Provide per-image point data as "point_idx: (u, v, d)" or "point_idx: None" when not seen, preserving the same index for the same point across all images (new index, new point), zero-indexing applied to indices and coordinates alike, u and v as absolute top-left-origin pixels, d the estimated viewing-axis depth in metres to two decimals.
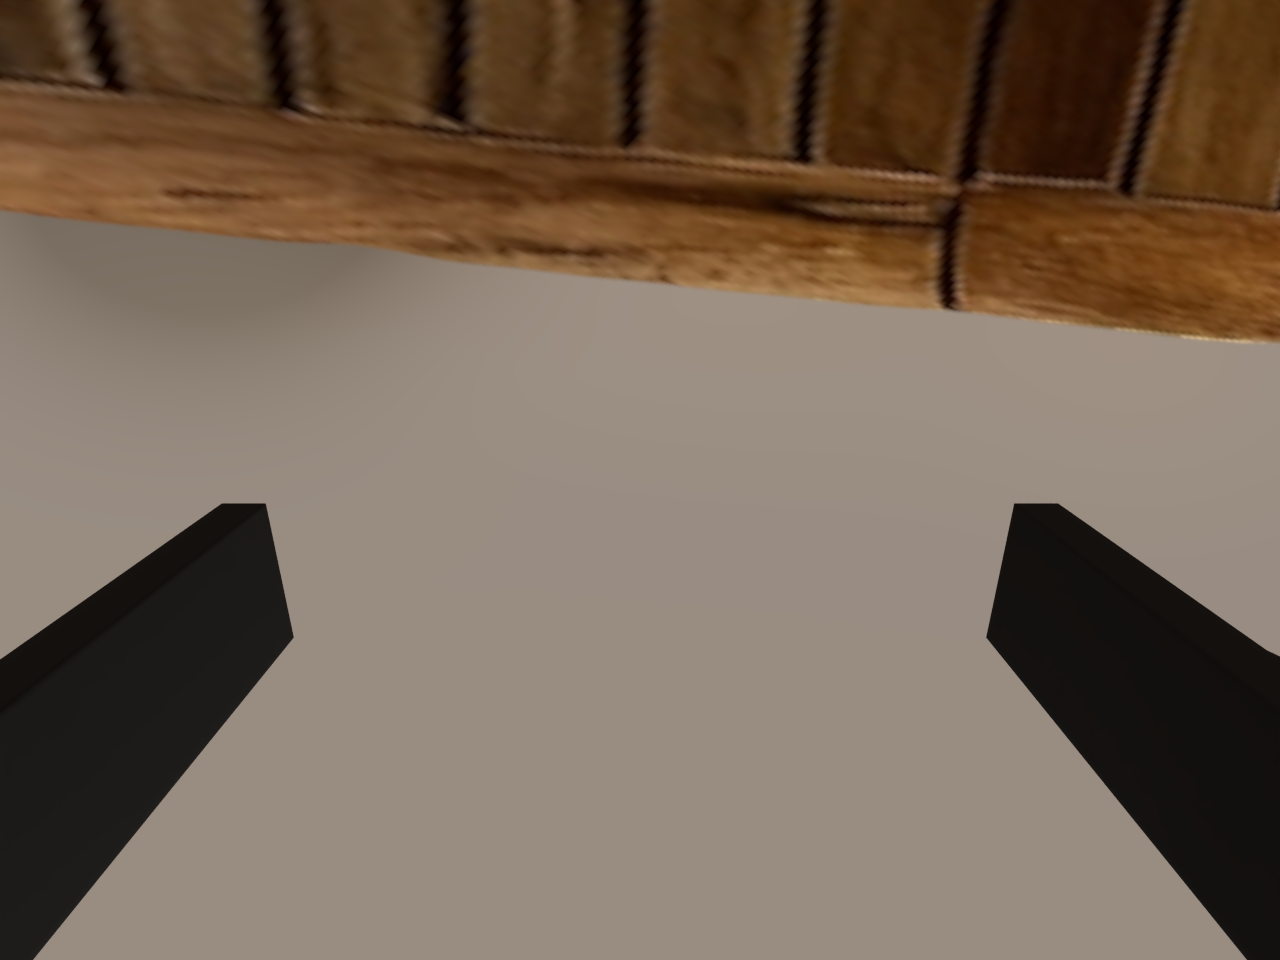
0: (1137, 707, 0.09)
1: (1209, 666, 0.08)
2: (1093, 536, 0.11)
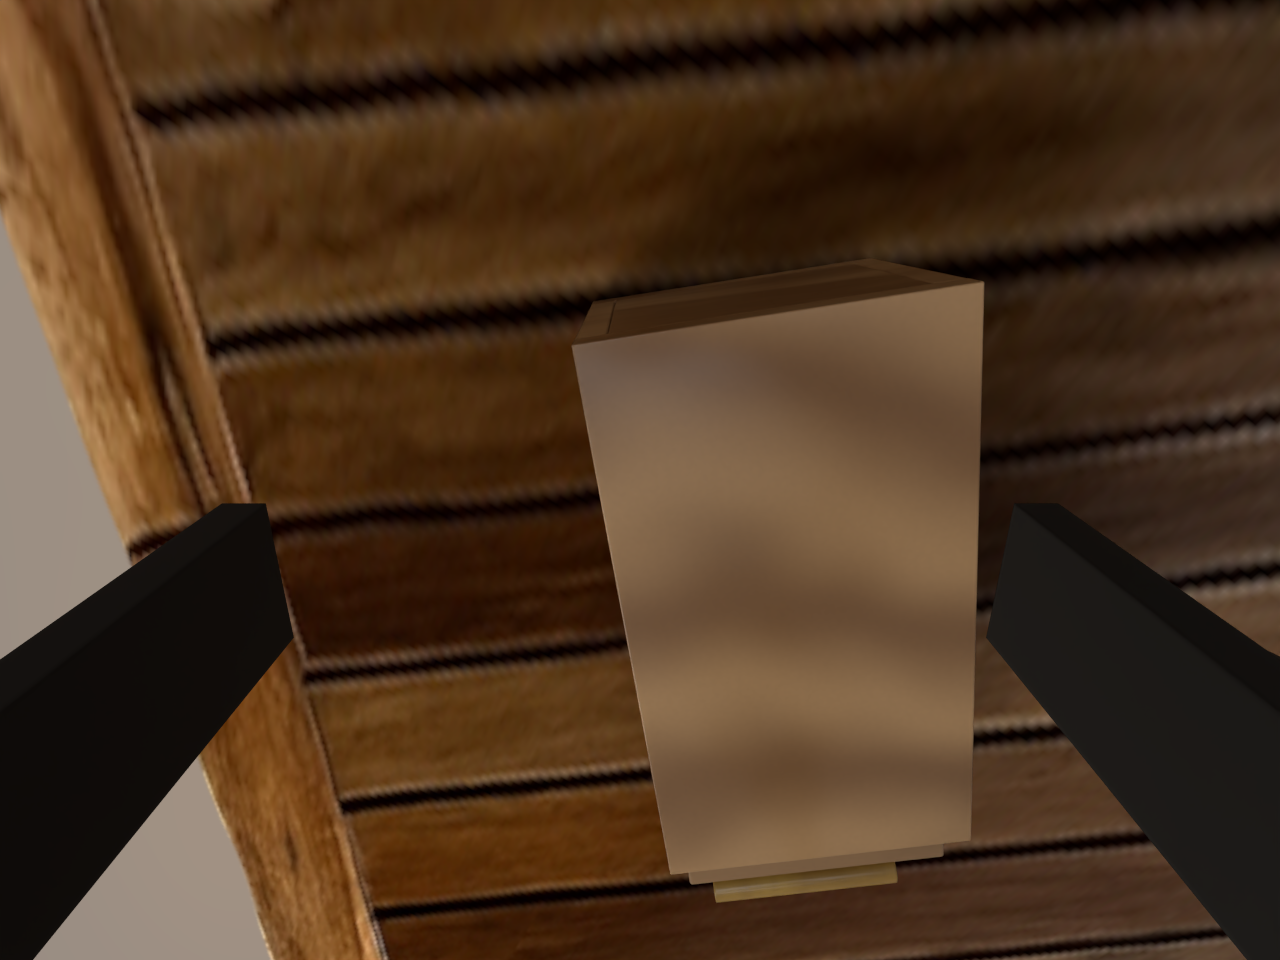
0: (1136, 707, 0.09)
1: (1209, 666, 0.08)
2: (1093, 536, 0.11)
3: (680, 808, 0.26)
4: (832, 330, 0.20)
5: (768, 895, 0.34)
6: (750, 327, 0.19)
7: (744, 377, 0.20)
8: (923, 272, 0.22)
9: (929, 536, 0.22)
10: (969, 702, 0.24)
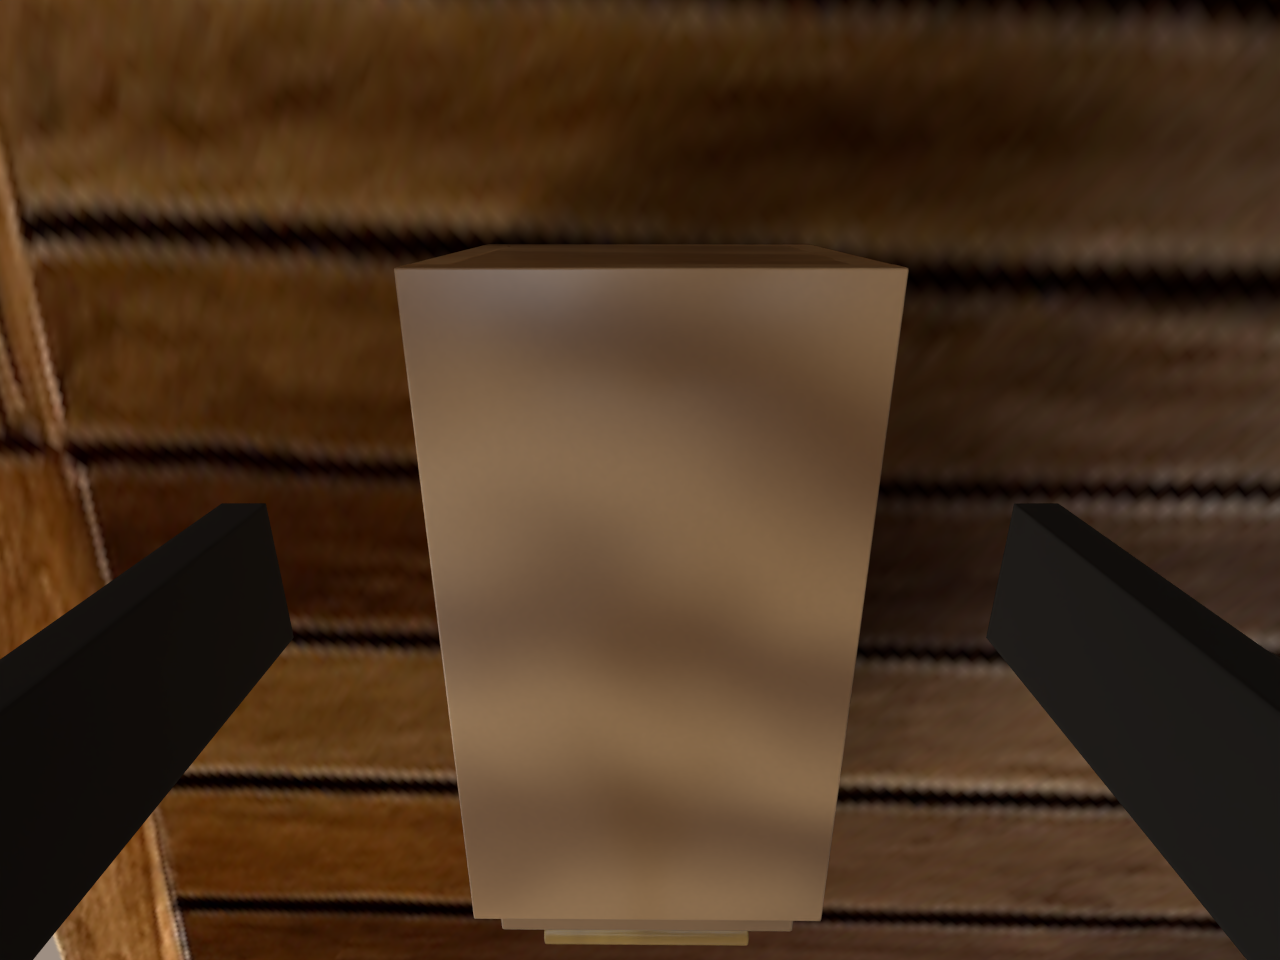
0: (1136, 707, 0.09)
1: (1209, 666, 0.08)
2: (1093, 536, 0.11)
3: (491, 845, 0.22)
4: (719, 300, 0.16)
5: (604, 943, 0.30)
6: (618, 281, 0.16)
7: (606, 342, 0.16)
8: (850, 256, 0.19)
9: (810, 569, 0.18)
10: (836, 767, 0.21)
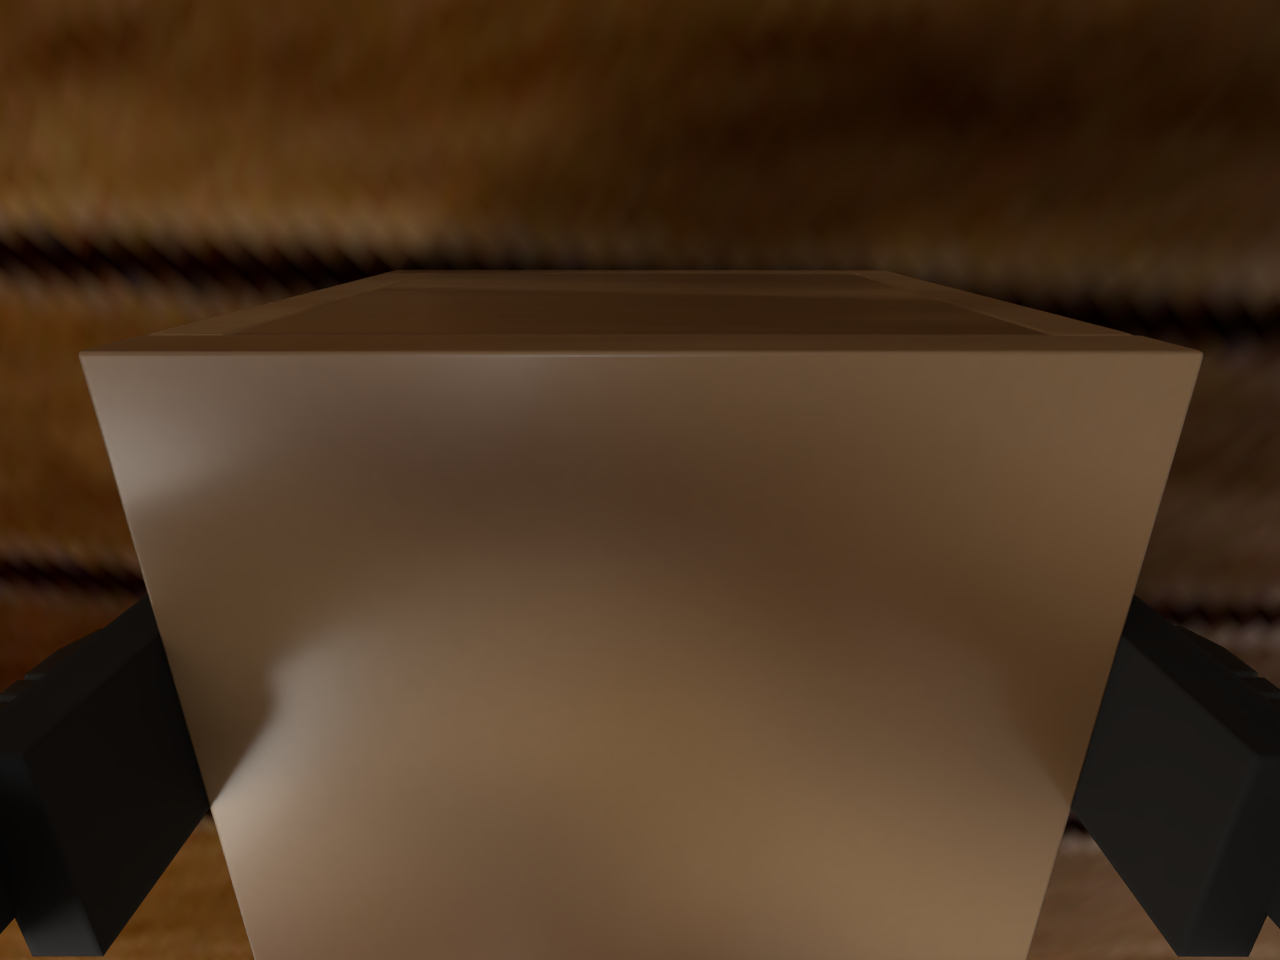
0: None
1: None
2: None
3: None
4: (788, 418, 0.07)
5: None
6: (571, 378, 0.07)
7: (548, 502, 0.08)
8: (1005, 306, 0.10)
9: (940, 888, 0.10)
10: None
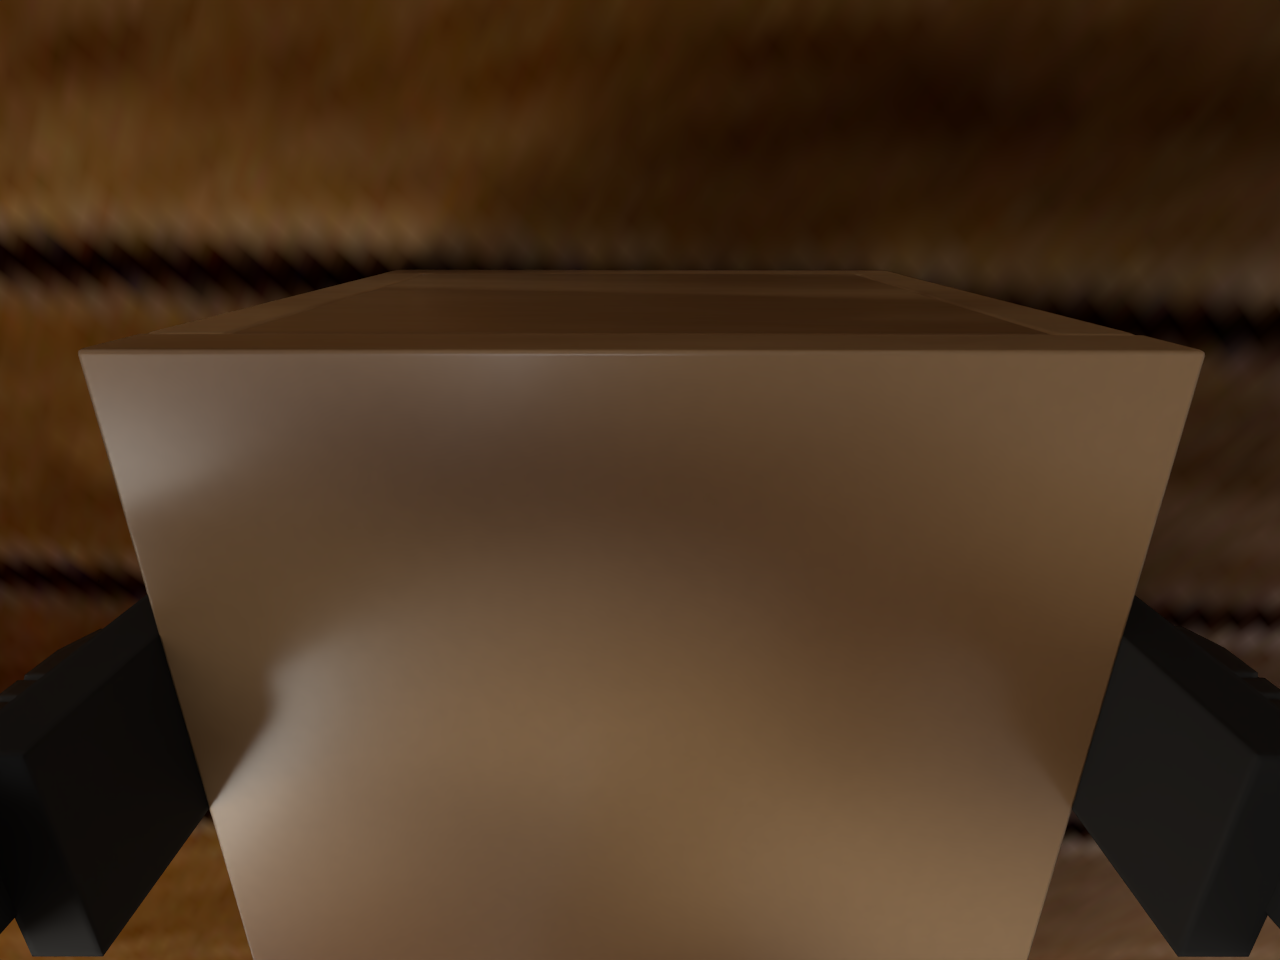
0: None
1: None
2: None
3: None
4: (788, 417, 0.07)
5: None
6: (572, 377, 0.07)
7: (548, 501, 0.08)
8: (1006, 306, 0.10)
9: (940, 890, 0.10)
10: None
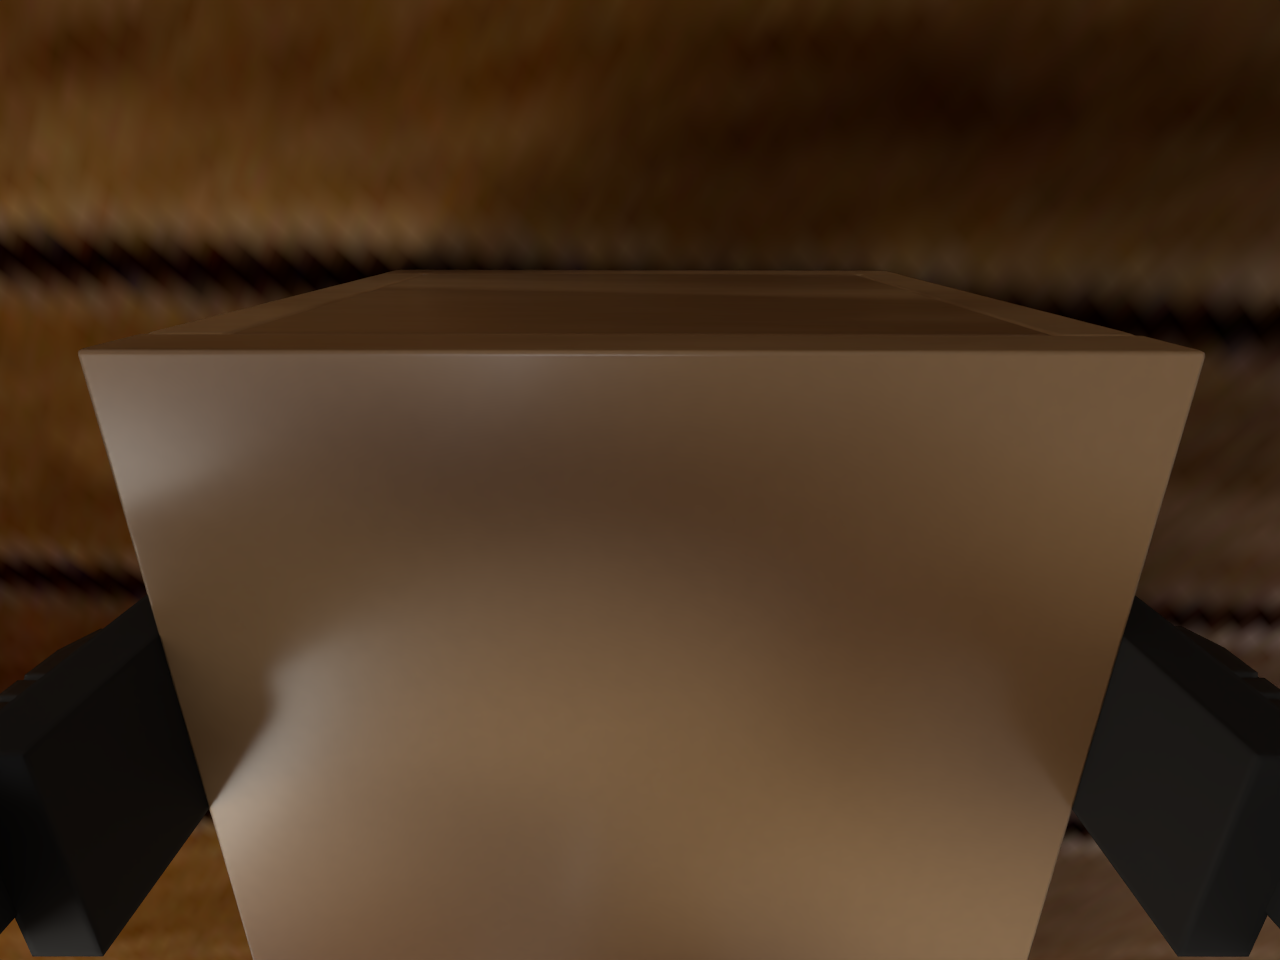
0: None
1: None
2: None
3: None
4: (788, 418, 0.07)
5: None
6: (571, 378, 0.07)
7: (548, 501, 0.08)
8: (1006, 306, 0.10)
9: (940, 890, 0.10)
10: None
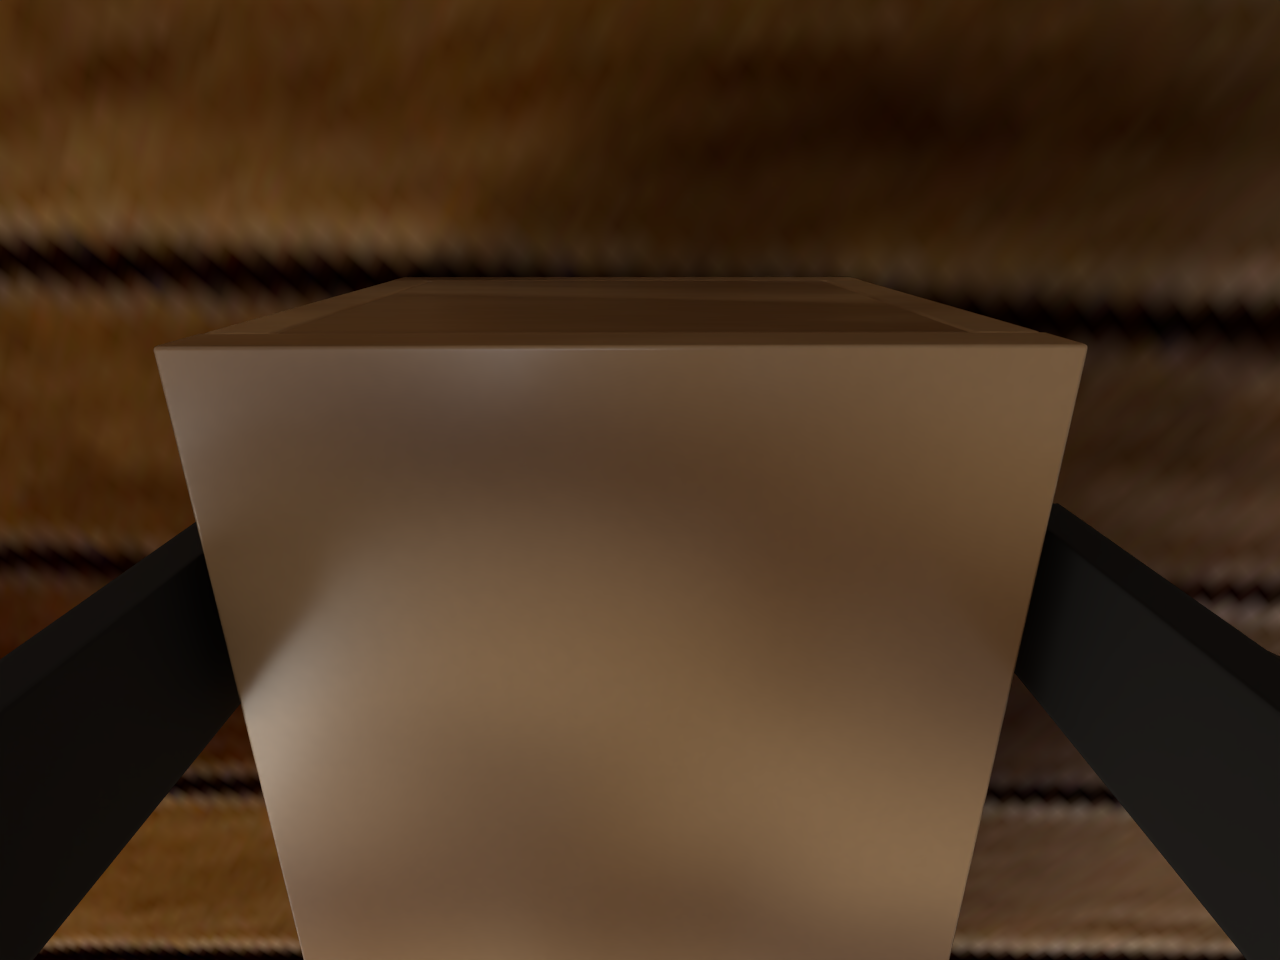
0: (1136, 707, 0.09)
1: (1209, 666, 0.08)
2: (1093, 536, 0.11)
3: None
4: (747, 401, 0.09)
5: None
6: (566, 367, 0.09)
7: (547, 473, 0.09)
8: (943, 308, 0.12)
9: (889, 815, 0.11)
10: None
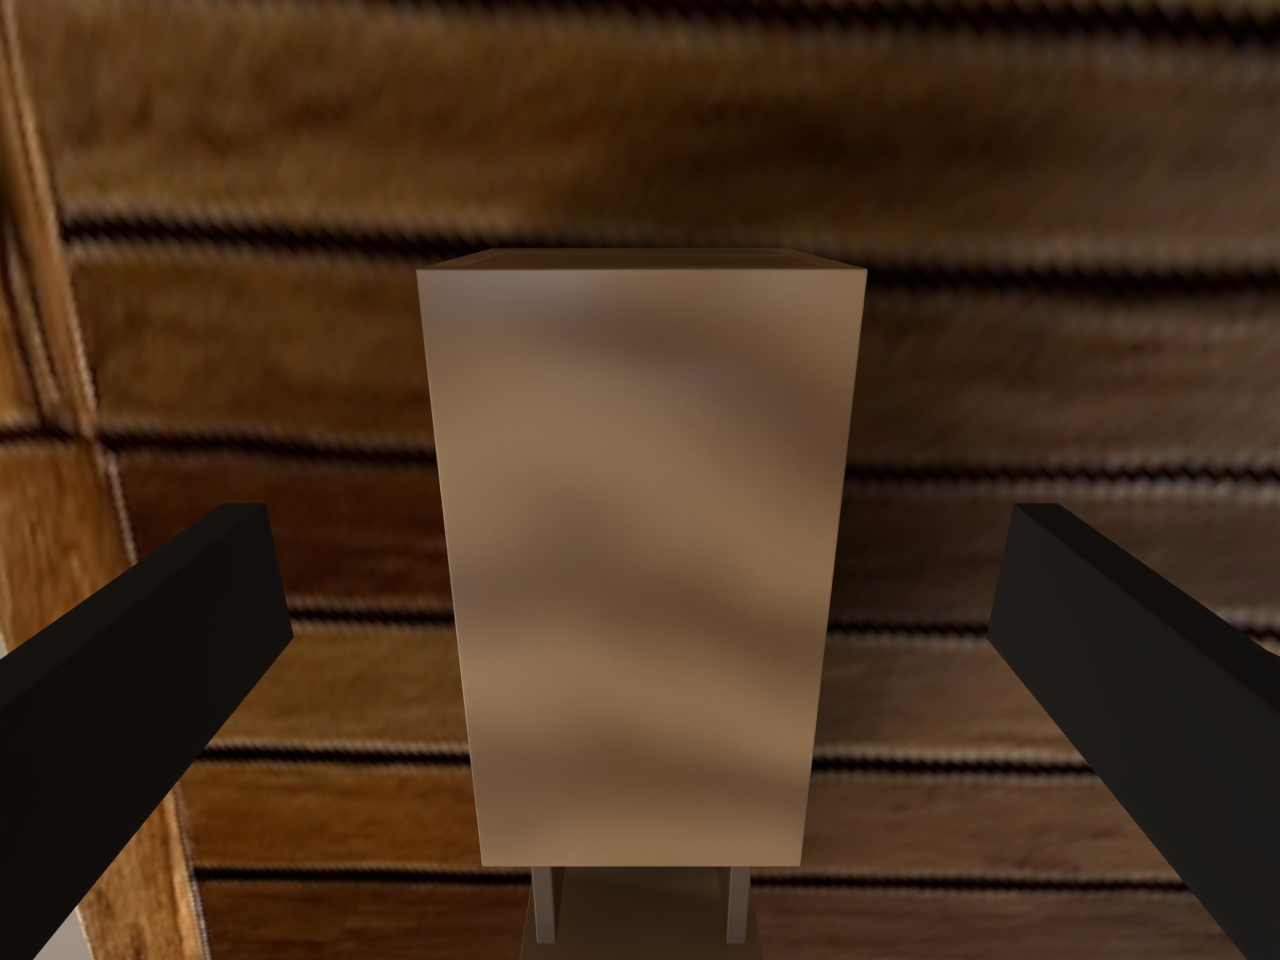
0: (1137, 707, 0.09)
1: (1209, 666, 0.08)
2: (1093, 536, 0.11)
3: (498, 796, 0.24)
4: (702, 297, 0.18)
5: None
6: (614, 280, 0.18)
7: (603, 335, 0.18)
8: (821, 259, 0.21)
9: (785, 537, 0.20)
10: (811, 720, 0.23)
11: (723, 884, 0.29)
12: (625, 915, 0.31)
